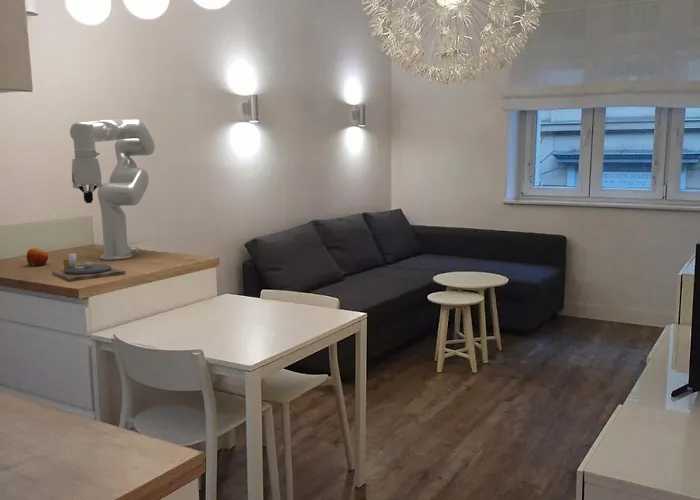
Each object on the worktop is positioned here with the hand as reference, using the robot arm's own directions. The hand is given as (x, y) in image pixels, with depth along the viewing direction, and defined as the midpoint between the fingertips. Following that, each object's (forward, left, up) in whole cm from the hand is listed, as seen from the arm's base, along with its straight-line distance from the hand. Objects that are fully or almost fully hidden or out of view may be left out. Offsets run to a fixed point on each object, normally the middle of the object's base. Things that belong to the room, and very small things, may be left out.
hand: (88, 202), depth 264 cm
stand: (+7, +15, -25) cm, 30 cm away
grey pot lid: (+7, +15, -24) cm, 29 cm away
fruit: (+15, -20, -25) cm, 36 cm away
